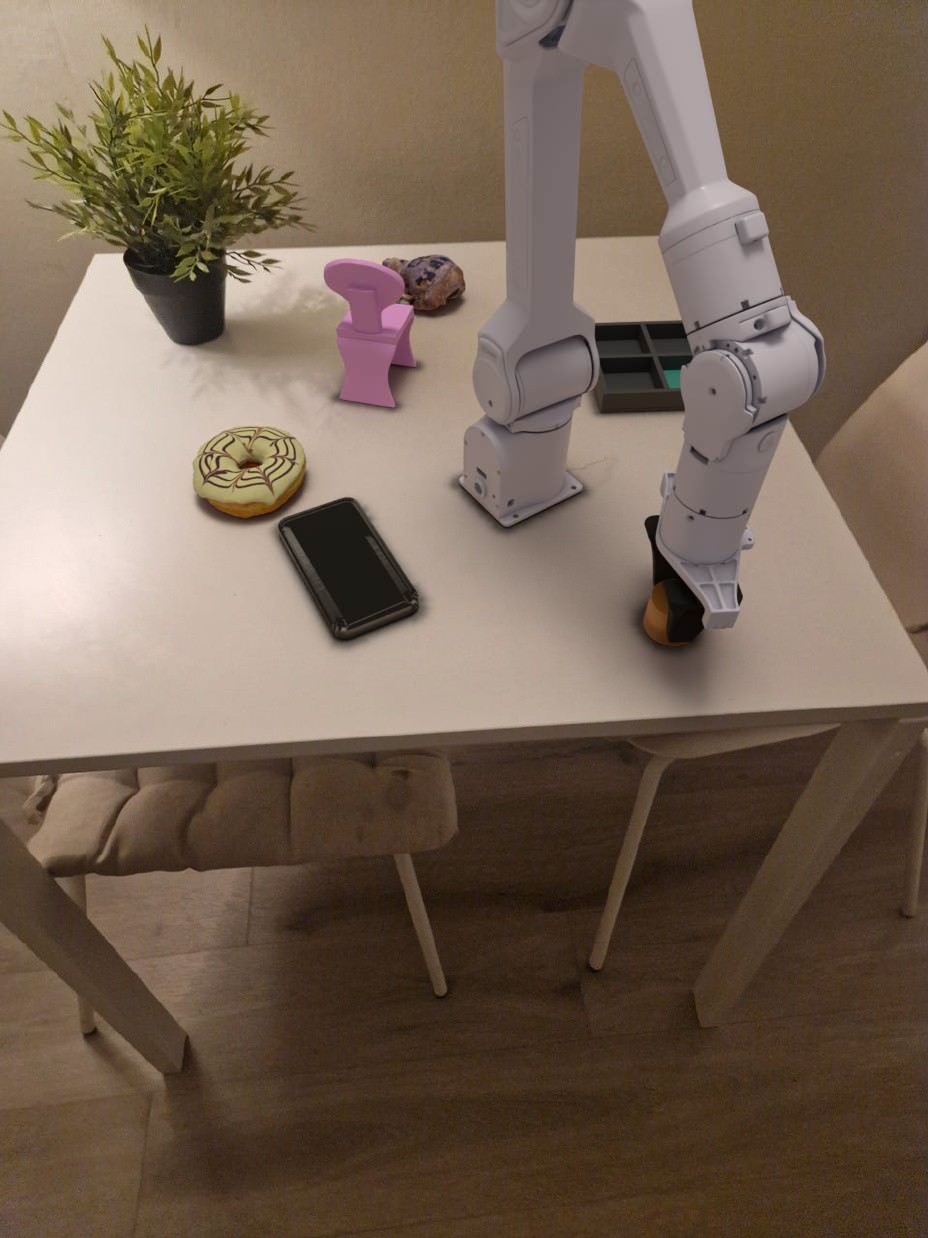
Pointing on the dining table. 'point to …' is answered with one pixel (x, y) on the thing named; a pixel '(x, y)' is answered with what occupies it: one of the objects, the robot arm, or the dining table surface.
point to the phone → (347, 567)
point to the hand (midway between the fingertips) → (673, 615)
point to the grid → (641, 365)
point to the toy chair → (370, 328)
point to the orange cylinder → (658, 616)
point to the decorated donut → (249, 470)
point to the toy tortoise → (428, 280)
